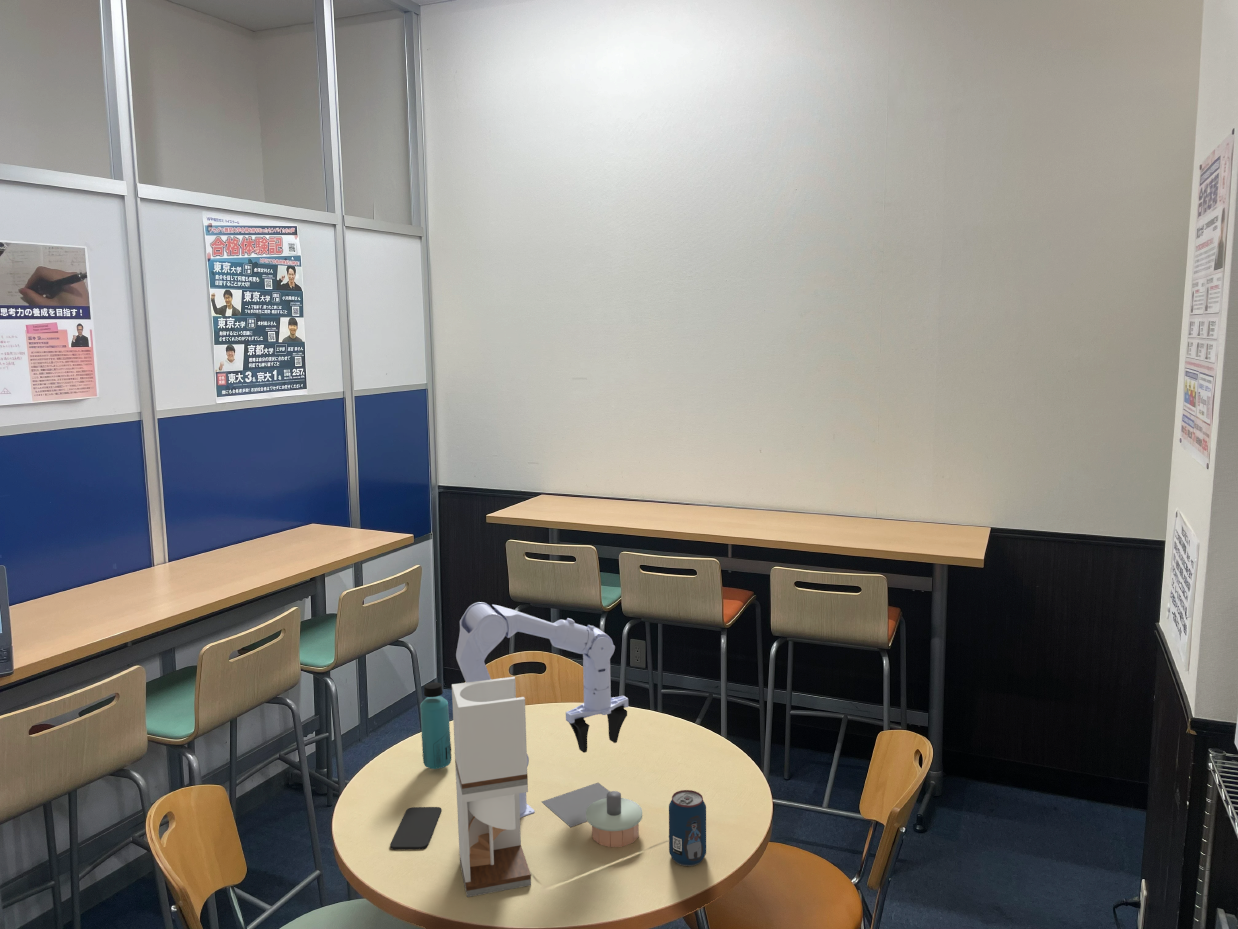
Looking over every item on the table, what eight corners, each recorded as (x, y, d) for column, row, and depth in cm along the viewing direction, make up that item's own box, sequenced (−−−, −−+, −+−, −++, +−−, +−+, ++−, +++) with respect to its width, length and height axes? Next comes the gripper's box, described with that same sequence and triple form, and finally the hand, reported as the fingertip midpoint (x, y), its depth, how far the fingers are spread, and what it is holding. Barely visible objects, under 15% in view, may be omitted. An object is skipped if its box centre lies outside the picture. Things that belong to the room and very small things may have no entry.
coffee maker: (466, 897, 159) (458, 707, 154) (459, 863, 169) (451, 684, 164) (531, 885, 162) (524, 698, 157) (520, 852, 172) (514, 676, 167)
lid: (605, 837, 170) (604, 815, 169) (575, 811, 179) (575, 791, 178) (653, 819, 176) (653, 798, 175) (622, 795, 185) (622, 775, 184)
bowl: (608, 853, 171) (608, 834, 171) (583, 832, 179) (583, 813, 178) (647, 838, 176) (647, 819, 176) (621, 818, 184) (621, 799, 183)
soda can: (683, 843, 175) (682, 784, 173) (713, 855, 170) (713, 795, 168) (661, 859, 169) (661, 799, 168) (692, 873, 165) (692, 811, 163)
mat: (570, 829, 180) (570, 827, 180) (541, 803, 190) (541, 801, 190) (629, 807, 188) (629, 806, 188) (598, 784, 198) (598, 782, 198)
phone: (443, 806, 189) (426, 847, 174) (443, 810, 189) (427, 851, 174) (407, 807, 189) (388, 847, 174) (407, 810, 189) (388, 851, 174)
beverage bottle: (449, 775, 202) (445, 690, 199) (419, 775, 203) (415, 690, 200) (455, 761, 209) (451, 679, 206) (426, 762, 209) (422, 679, 206)
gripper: (577, 699, 185) (578, 762, 187) (636, 683, 193) (636, 743, 195) (560, 688, 190) (561, 749, 192) (617, 673, 198) (618, 732, 200)
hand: (598, 746), depth 194 cm, fingers open, 7 cm apart
